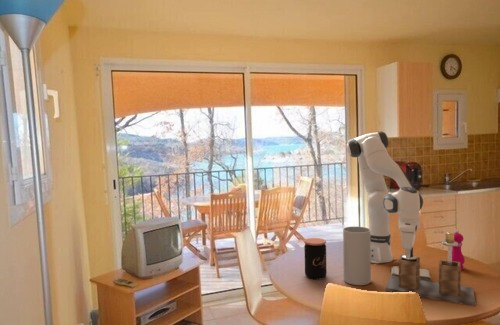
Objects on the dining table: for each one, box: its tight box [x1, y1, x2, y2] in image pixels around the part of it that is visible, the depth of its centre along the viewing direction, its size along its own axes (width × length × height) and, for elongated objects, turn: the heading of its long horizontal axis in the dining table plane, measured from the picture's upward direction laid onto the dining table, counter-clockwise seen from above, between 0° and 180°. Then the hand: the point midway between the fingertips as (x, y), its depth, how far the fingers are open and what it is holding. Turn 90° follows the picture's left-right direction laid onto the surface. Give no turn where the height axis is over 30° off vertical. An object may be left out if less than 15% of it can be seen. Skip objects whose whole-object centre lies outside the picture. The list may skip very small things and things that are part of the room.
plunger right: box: [441, 231, 458, 266], centre depth 157 cm, size 6×6×15 cm
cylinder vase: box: [342, 225, 372, 286], centre depth 175 cm, size 12×12×25 cm
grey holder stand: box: [385, 254, 476, 307], centre depth 162 cm, size 34×16×14 cm, turn 61°
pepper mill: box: [452, 229, 466, 271], centre depth 189 cm, size 7×7×20 cm
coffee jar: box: [303, 237, 328, 280], centre depth 184 cm, size 11×11×18 cm
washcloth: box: [390, 265, 433, 282], centre depth 181 cm, size 12×18×3 cm, turn 68°
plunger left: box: [401, 246, 418, 261], centre depth 165 cm, size 6×6×15 cm
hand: (409, 254), depth 165 cm, fingers open, 8 cm apart
